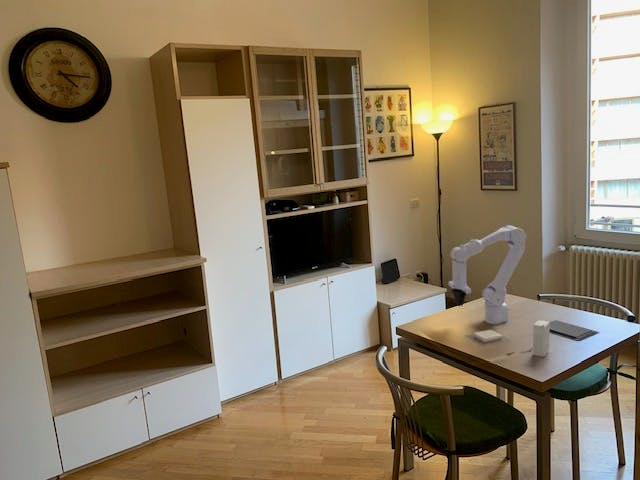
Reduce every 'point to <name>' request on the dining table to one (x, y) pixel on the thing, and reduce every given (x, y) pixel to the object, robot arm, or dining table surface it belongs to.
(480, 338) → the tile
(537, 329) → the skincare box
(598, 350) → the dining table surface
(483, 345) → the mat
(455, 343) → the dining table surface
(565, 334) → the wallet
